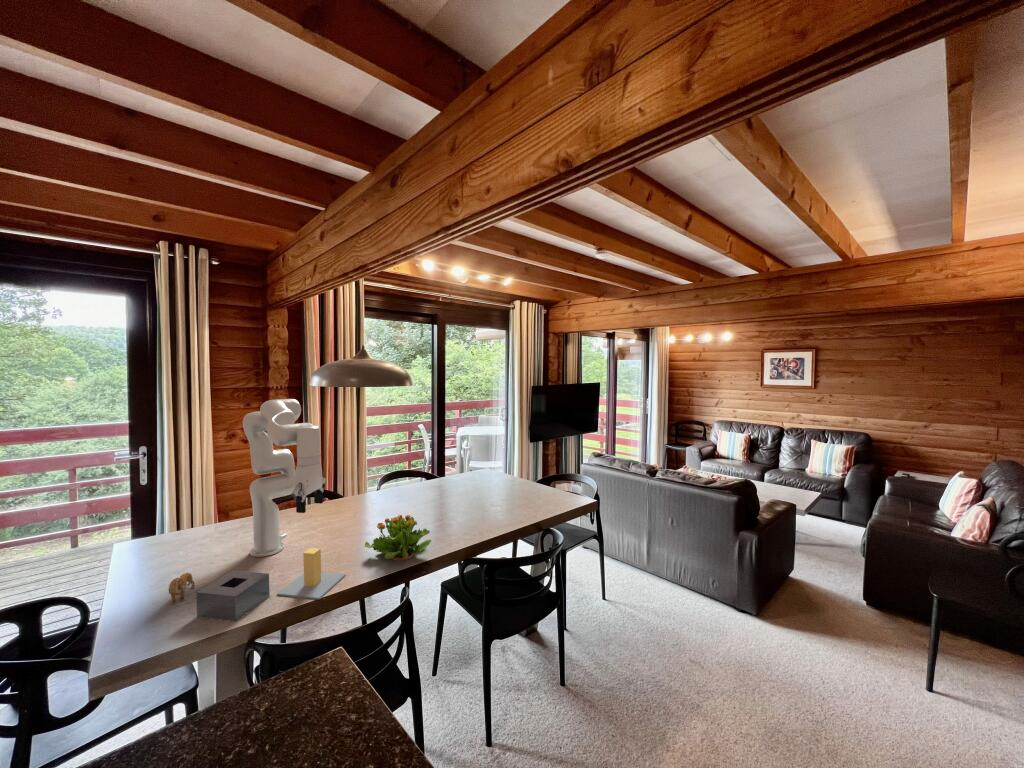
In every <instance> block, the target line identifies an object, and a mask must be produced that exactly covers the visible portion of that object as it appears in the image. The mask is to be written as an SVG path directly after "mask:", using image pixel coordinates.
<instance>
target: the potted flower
mask: <svg viewBox="0 0 1024 768" xmlns="http://www.w3.org/2000/svg"><path fill="white" fill-rule="evenodd" d="M384 523H385V524H384ZM384 523H383V522H378V523H377V525H376V528H378V529H377V530H380V536H379V537H375V538H373V540H372V542H373V543H372V544H370V543H369V542H368V541H365V543H364V547H365V548H368V549H371V548H372V549H373V551H376V553H381V554H384V558H385V560H393V561H397V562H399V561H400V562H401V561H403V562H404V561H406V560H410V559H412V558H413V557H414V555H415V554H418V553H420V552H421V551H423V550H425V549H426V548H427V547H428V546H429V545H430V544H431V543H432V539H426V540H424V541H423V542H421V543H420V544H418V543H419V541H420V540H421V539H422V538H423V537H425V536H426V535H429V534H430V532H431V531H430V530H427V528H423V529H422V530H421V529H420V528H418V530H417V529H414V527H415V526H417V525H418V521H417V520H415V518H414V517H413V516H411V515H410V514H406V515H405V516H403V515H402V514H398V515H397V516H395V517H392V518H388V517H386V518H385V519H384ZM385 529H387V533H388V534H389V535H387V536H386V535H385V534H384V532H383V530H385Z"/></svg>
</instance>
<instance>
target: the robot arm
mask: <svg viewBox="0 0 1024 768" xmlns="http://www.w3.org/2000/svg"><path fill="white" fill-rule="evenodd" d="M301 412H302V407H301V404H300V402H299V401H298V400H297V399H294V398H284V399H283V398H278V399H270V400H266V401H265V402H263V403H262V404H261V405H260V408H259V411H257V410H256V411H252V412H249V413H246V414H245V415H244V417H243V419H242V427H243V432H244V435H245V436H246V438H247V441H248V444H249V453H250V462H251V463H250V464H251V470H252V472H253V473H254V475H267V474H271V473H278V472H280V474H275V475H269V476H265V477H260V478H257V479H255V480H253V481H252V482H251V483H250V485H249V494H250V498H251V503H252V504H251V505H252V522H253V547H252V548H251V549H250V550H249V555H250V556H251V557H255V558H256V557H257V558H260V557H261V558H264V557H267V556H272V555H275V554H278V553H279V552H281V551H283V549H284V548H285V544H284V542H282V541H283V540H284V539H286V538H287V537H288V536H287V533H285V532H284V533H282V534H280V508H279V506H278V504H276V502H274V501H273V499H277V498H281V497H286V496H289V495H291V496H292V499H293V500H294V502H295V506H296V507H295V508H296V509H295V512H296V513H297V514H298V513H299V514H305V513H306V511H307V510H306V507H307V505H306V498H307V496H308V495H310V494H313V503H314V504H321V505H322V504H324V500H323V499H324V497H323V496H324V494H323V493H324V488H325V486H326V480H327V478H325V477H323V468H322V462H321V459H322V458H321V429H320V427H319V426H318V425H314V424H312V423H310V422H300V423H295V422H296V421H297V420H298V419H299V417H300V416H301V414H302V413H301ZM274 445H276V446H277V447H278V446H279V447H288V446H294V445H296V459H297V460H296V465H297V466H296V465H295V458H294V454H293V452H291V450H290V449H288V448H279V449H274ZM295 466H296V467H295Z"/></svg>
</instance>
